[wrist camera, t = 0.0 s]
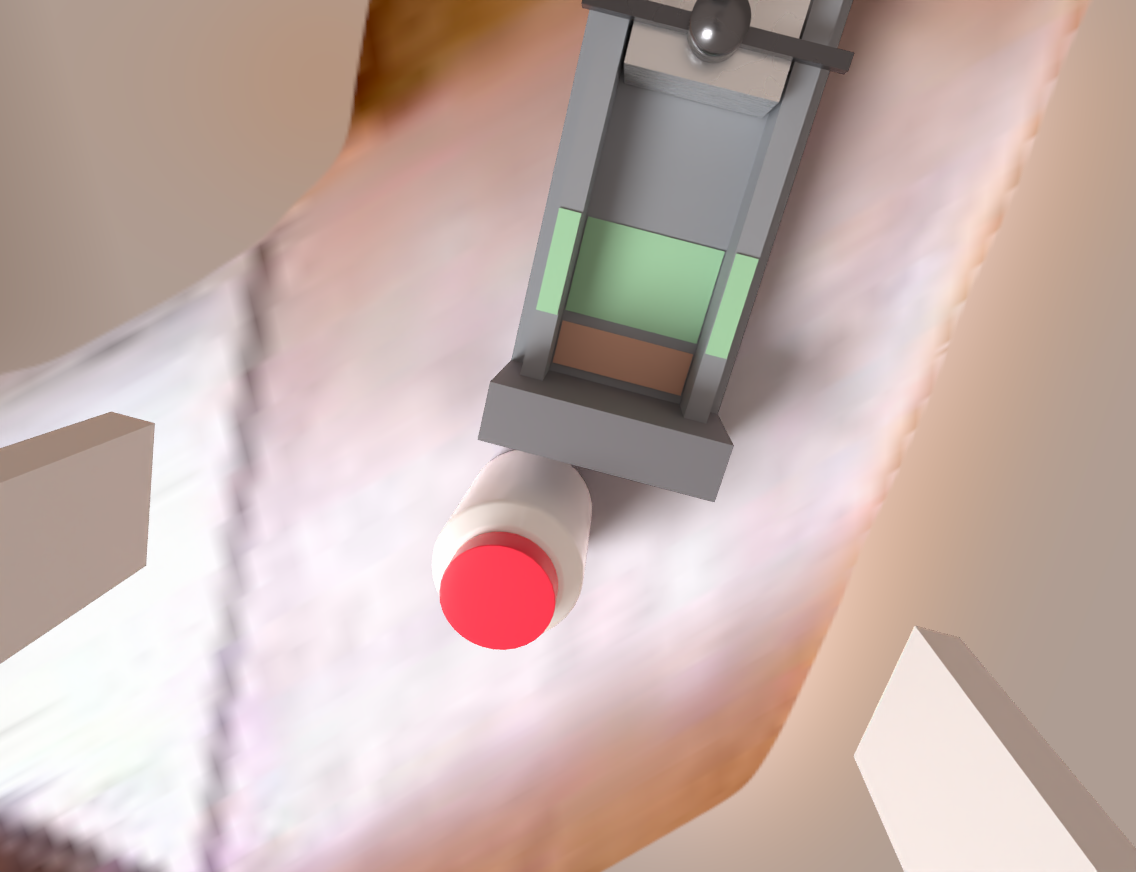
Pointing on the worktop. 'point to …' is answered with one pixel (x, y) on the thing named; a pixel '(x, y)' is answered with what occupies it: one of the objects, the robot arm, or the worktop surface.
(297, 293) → the worktop surface
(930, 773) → the robot arm
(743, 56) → the slider
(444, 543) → the pill bottle
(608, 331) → the gauge bed
